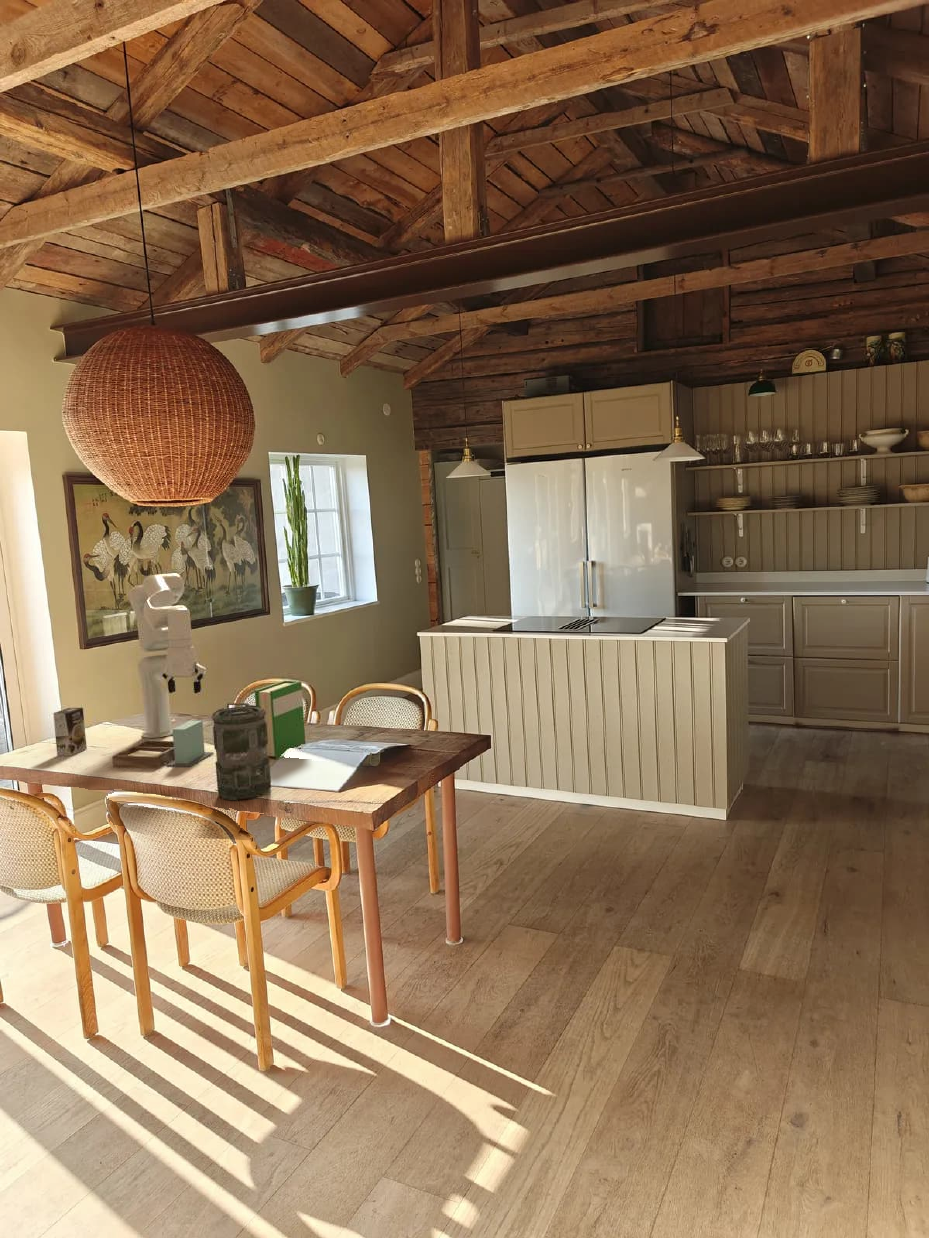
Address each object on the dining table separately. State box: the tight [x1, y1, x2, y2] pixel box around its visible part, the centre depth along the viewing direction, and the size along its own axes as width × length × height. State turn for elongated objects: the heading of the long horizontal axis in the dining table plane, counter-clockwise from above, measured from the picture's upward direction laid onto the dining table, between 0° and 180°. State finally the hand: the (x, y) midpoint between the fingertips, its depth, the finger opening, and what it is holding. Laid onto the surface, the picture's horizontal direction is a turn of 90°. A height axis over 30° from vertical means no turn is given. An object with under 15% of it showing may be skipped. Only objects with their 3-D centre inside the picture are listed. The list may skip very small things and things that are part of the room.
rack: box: [111, 740, 175, 770], centre depth 306 cm, size 20×17×4 cm
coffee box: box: [52, 707, 87, 757], centre depth 320 cm, size 9×6×16 cm
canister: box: [211, 702, 272, 801], centre depth 263 cm, size 16×16×28 cm
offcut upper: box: [128, 750, 163, 756], centre depth 302 cm, size 6×10×2 cm, turn 69°
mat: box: [165, 751, 214, 768], centre depth 304 cm, size 16×9×1 cm, turn 167°
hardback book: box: [254, 679, 306, 759], centre depth 308 cm, size 18×7×24 cm, turn 157°
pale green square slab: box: [172, 720, 206, 764], centre depth 303 cm, size 4×12×12 cm, turn 167°
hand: (184, 692), depth 301 cm, fingers open, 9 cm apart
